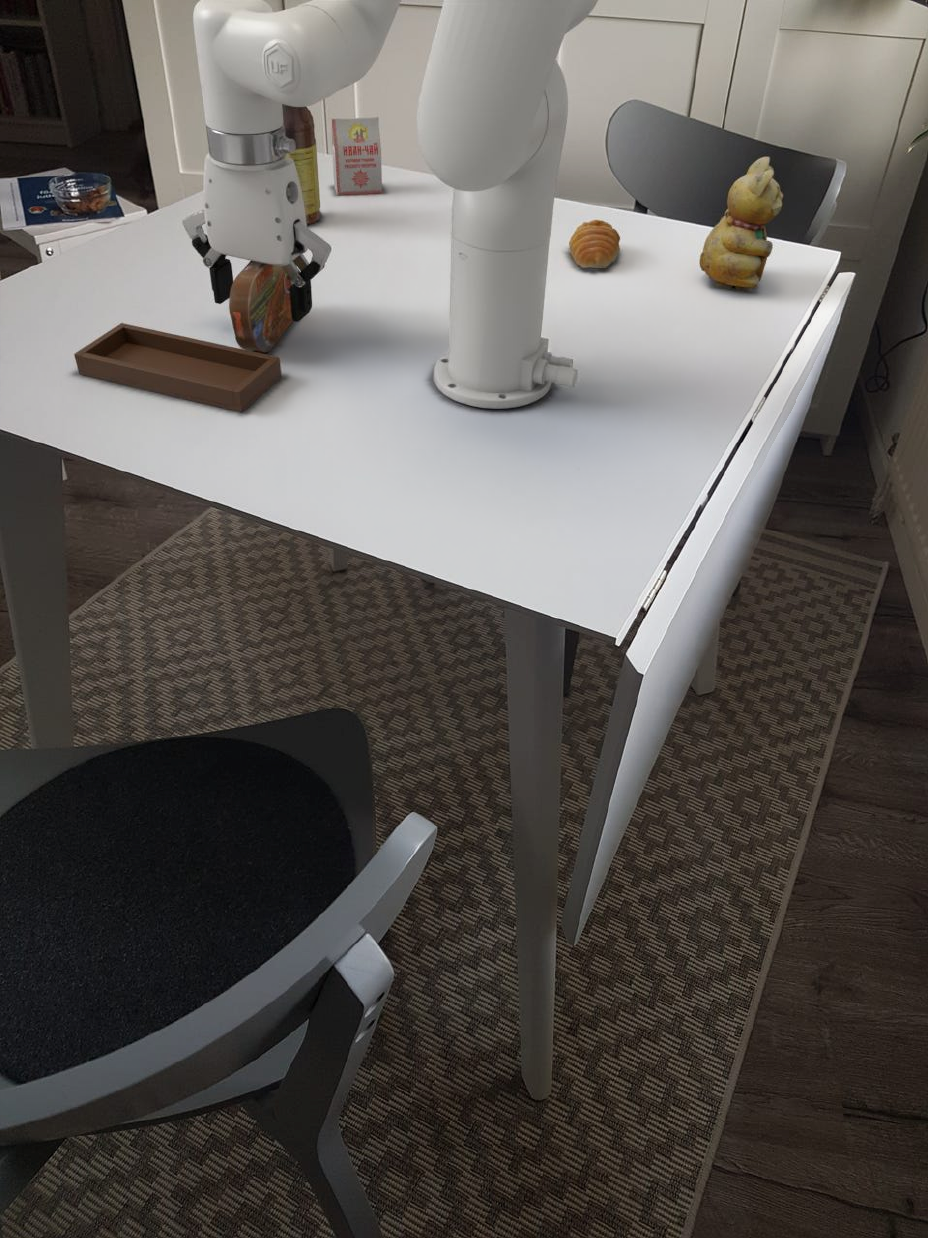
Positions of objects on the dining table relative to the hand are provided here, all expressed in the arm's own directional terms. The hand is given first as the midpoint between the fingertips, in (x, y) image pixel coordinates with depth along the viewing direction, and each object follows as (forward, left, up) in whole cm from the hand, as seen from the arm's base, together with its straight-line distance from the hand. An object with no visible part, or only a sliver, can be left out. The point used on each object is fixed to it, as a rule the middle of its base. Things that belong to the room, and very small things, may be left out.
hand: (262, 307), depth 107 cm
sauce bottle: (+13, -33, -3) cm, 36 cm away
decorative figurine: (-47, -37, -3) cm, 59 cm away
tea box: (+11, -48, -3) cm, 49 cm away
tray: (+3, +13, -3) cm, 13 cm away
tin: (-1, 0, -3) cm, 3 cm away
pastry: (-28, -38, -3) cm, 48 cm away
